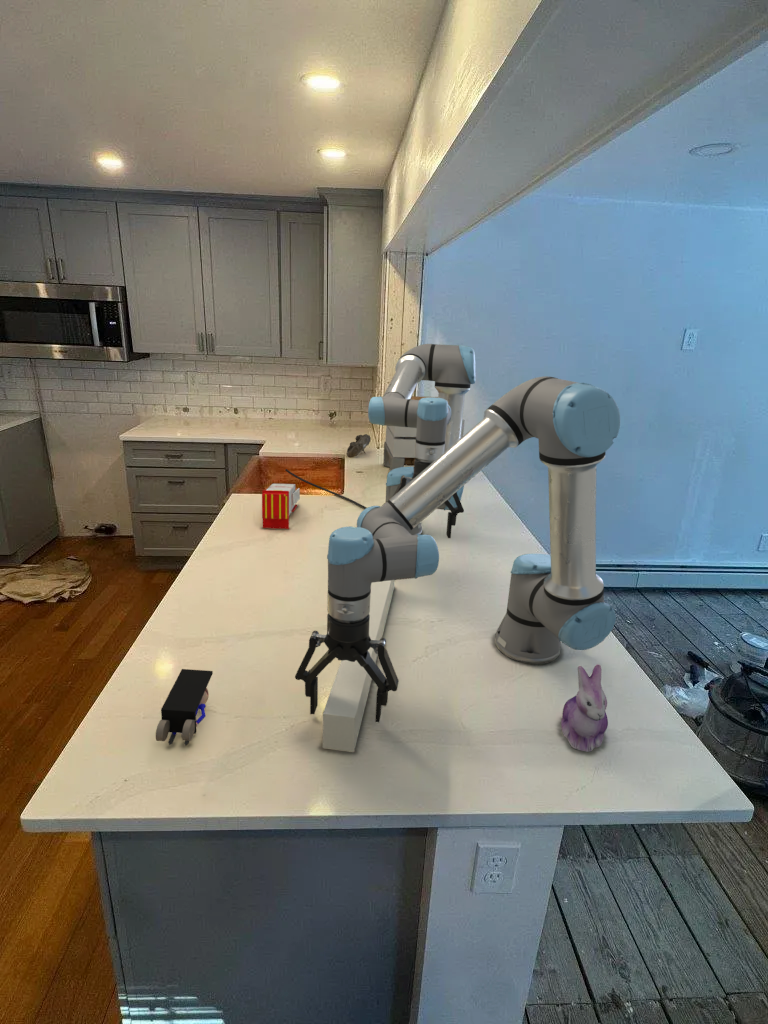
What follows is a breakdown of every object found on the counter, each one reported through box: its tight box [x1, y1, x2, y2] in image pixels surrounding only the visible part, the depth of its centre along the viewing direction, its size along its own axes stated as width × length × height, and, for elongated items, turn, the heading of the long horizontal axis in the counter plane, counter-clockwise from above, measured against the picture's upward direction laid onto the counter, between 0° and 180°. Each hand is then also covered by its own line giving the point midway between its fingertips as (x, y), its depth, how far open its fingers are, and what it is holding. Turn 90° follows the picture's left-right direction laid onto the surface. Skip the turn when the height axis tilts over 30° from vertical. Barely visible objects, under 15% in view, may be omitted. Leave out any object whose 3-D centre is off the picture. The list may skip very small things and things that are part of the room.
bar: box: [322, 580, 396, 753], centre depth 130 cm, size 64×6×8 cm, turn 173°
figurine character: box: [155, 668, 214, 746], centre depth 105 cm, size 7×8×15 cm
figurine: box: [560, 663, 609, 753], centre depth 105 cm, size 9×10×15 cm
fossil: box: [346, 433, 372, 458], centre depth 305 cm, size 22×10×15 cm
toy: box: [261, 483, 301, 530], centre depth 210 cm, size 12×13×30 cm
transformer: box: [383, 395, 465, 472], centre depth 268 cm, size 34×33×41 cm
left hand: (423, 536), depth 153 cm, fingers open, 13 cm apart
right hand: (345, 713), depth 108 cm, fingers open, 12 cm apart
